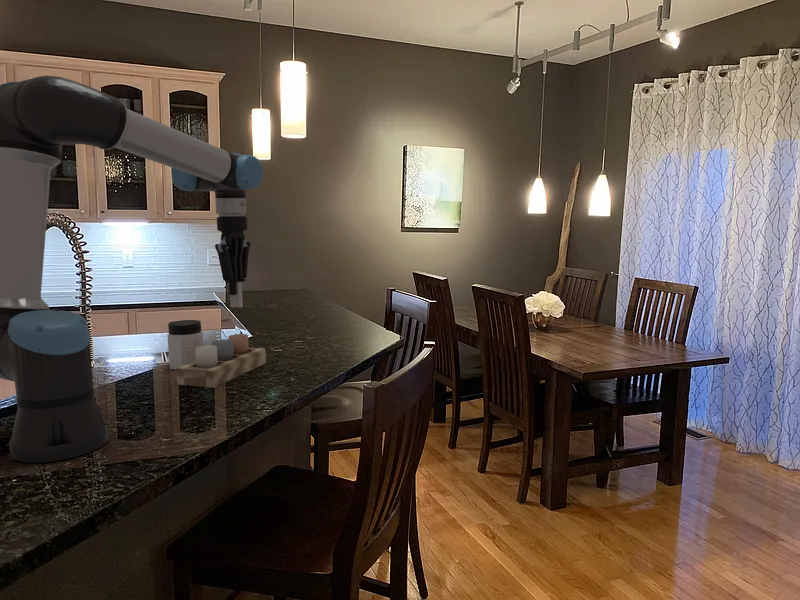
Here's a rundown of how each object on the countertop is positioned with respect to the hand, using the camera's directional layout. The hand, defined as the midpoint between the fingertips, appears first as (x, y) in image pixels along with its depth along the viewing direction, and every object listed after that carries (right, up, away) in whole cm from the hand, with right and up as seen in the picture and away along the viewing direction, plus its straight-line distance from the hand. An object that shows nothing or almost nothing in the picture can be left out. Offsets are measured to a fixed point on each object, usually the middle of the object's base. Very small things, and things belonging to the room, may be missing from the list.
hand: (236, 306), depth 158 cm
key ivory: (-4, -15, -11) cm, 19 cm away
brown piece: (0, -13, +2) cm, 13 cm away
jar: (-14, -16, +2) cm, 21 cm away
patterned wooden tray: (-2, -17, -4) cm, 17 cm away
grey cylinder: (-2, -14, -5) cm, 15 cm away
